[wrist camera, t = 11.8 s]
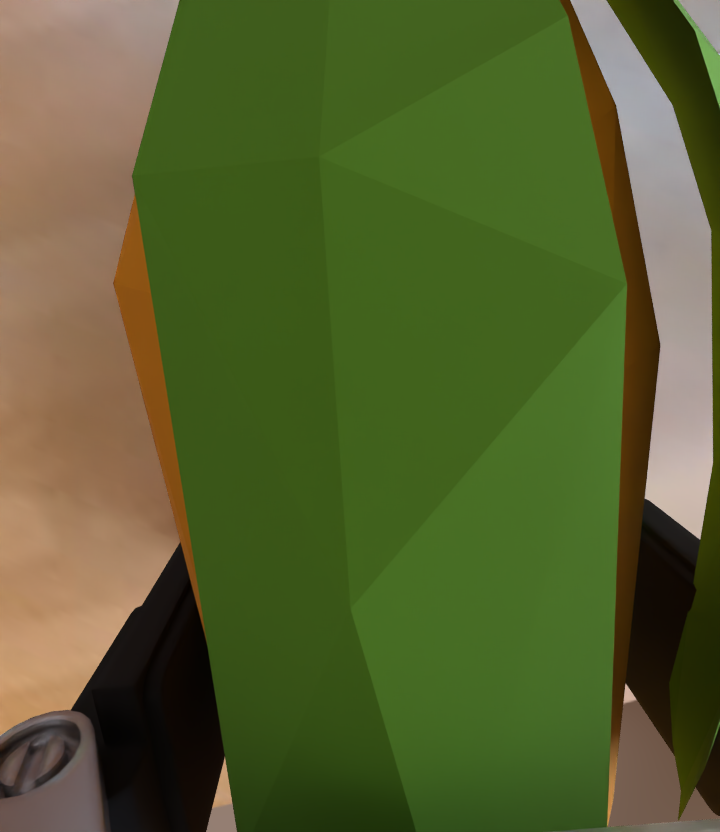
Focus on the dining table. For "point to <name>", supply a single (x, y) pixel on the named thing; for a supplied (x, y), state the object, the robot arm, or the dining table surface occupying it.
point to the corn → (415, 400)
